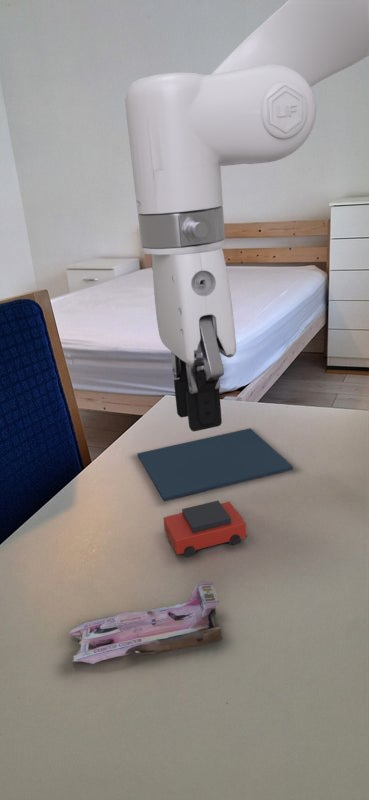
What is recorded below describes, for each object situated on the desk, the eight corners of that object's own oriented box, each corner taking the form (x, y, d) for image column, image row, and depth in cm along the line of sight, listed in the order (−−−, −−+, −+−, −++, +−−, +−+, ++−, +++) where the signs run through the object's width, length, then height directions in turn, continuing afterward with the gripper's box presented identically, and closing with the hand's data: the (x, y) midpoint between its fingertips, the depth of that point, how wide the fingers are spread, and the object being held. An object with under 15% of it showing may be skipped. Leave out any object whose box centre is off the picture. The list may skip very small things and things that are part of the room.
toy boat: (70, 678, 50) (62, 640, 48) (73, 630, 55) (66, 594, 53) (225, 651, 51) (222, 613, 49) (214, 607, 56) (210, 571, 55)
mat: (250, 431, 92) (250, 428, 92) (293, 469, 80) (292, 466, 79) (137, 456, 88) (137, 453, 87) (163, 501, 75) (163, 497, 75)
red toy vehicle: (247, 541, 65) (230, 518, 70) (245, 516, 64) (229, 494, 69) (177, 559, 64) (165, 535, 68) (174, 534, 62) (162, 510, 67)
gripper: (259, 233, 47) (268, 444, 53) (192, 222, 61) (206, 389, 68) (167, 245, 45) (189, 462, 51) (121, 231, 60) (143, 401, 66)
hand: (199, 419), depth 60 cm, fingers open, 3 cm apart
